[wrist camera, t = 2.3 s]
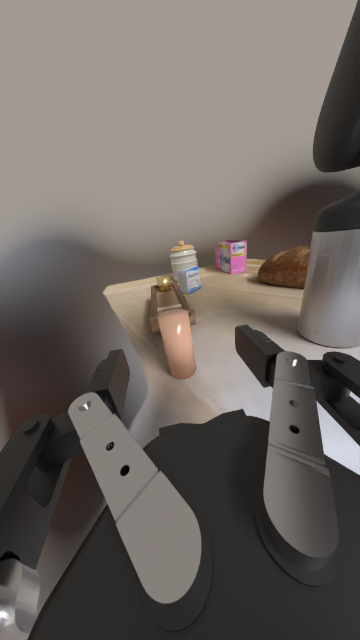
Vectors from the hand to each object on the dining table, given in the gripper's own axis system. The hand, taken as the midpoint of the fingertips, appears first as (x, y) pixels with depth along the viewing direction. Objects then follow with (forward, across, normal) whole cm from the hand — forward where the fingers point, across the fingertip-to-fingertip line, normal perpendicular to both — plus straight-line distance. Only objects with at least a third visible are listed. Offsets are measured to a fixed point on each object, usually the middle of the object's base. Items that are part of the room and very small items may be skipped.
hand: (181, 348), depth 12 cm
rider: (+12, 0, +13) cm, 18 cm away
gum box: (+80, -36, +12) cm, 89 cm away
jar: (+78, -12, +12) cm, 79 cm away
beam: (+36, 0, +12) cm, 38 cm away
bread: (+41, -45, +12) cm, 62 cm away
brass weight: (+44, 0, +7) cm, 45 cm away
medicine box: (+56, -10, +12) cm, 58 cm away
